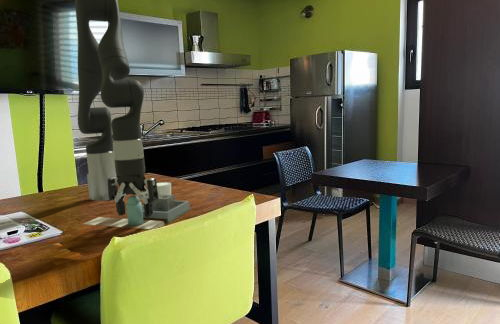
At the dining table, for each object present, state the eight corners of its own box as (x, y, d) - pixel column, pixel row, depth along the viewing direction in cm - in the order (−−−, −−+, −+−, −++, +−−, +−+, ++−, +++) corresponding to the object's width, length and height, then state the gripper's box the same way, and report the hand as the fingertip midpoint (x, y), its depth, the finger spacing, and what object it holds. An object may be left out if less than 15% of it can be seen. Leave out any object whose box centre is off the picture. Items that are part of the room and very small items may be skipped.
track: (82, 228, 104) (81, 224, 104) (99, 220, 110) (99, 216, 110) (149, 233, 96) (149, 229, 96) (164, 225, 103) (163, 220, 103)
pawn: (125, 225, 100) (121, 197, 99) (134, 220, 104) (131, 193, 103) (137, 226, 99) (134, 197, 98) (146, 221, 103) (143, 194, 101)
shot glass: (154, 208, 121) (152, 187, 120) (149, 203, 127) (148, 183, 126) (175, 204, 124) (173, 184, 123) (169, 200, 130) (168, 180, 129)
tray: (131, 220, 109) (130, 210, 108) (155, 208, 120) (154, 199, 120) (168, 223, 104) (167, 212, 104) (189, 210, 116) (189, 201, 115)
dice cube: (168, 215, 110) (167, 199, 109) (153, 215, 111) (151, 198, 110) (176, 210, 114) (174, 194, 114) (161, 210, 116) (159, 194, 115)
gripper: (97, 158, 98) (104, 218, 100) (143, 158, 93) (149, 221, 95) (116, 154, 105) (122, 210, 107) (160, 154, 100) (165, 213, 102)
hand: (135, 215), depth 101 cm, fingers open, 8 cm apart
